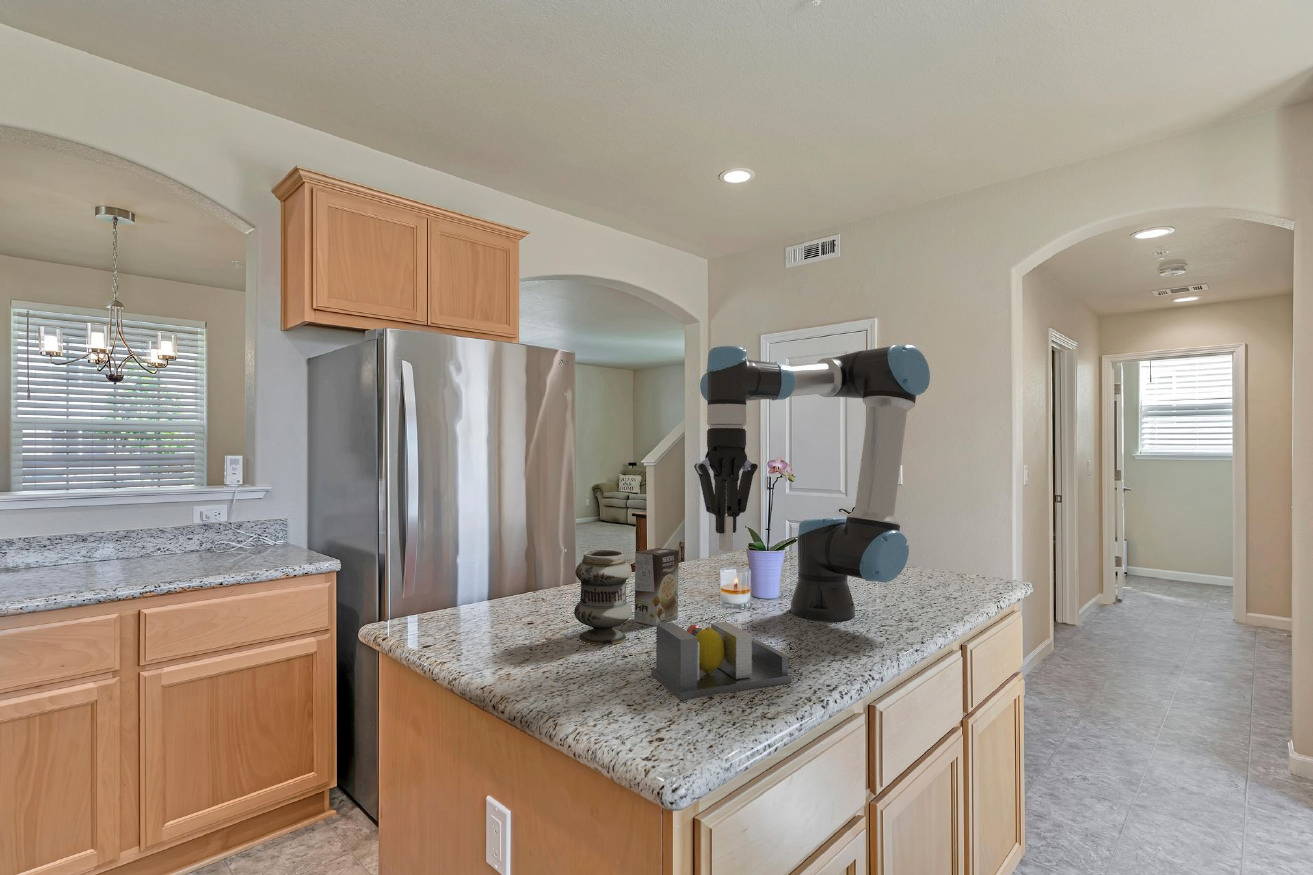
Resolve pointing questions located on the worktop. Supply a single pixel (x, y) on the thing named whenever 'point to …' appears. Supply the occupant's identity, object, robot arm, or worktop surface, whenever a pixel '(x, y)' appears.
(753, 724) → the worktop surface
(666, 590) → the coffee box
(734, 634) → the free jaw
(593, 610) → the apothecary jar
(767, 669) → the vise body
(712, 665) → the lemon
